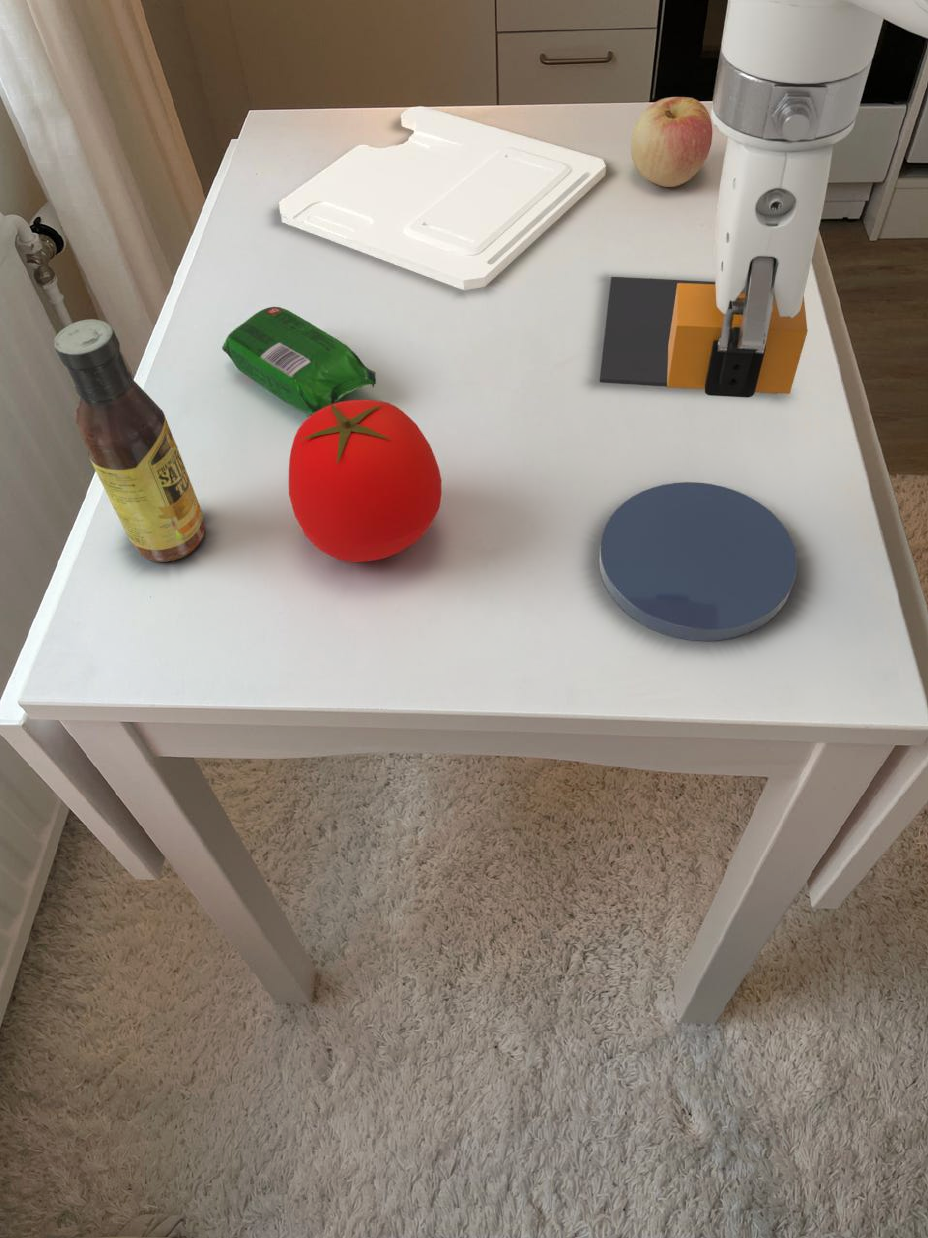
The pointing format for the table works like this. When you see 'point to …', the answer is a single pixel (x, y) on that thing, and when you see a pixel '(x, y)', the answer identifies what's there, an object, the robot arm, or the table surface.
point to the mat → (639, 330)
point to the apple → (671, 140)
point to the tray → (444, 197)
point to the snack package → (296, 360)
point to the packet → (701, 326)
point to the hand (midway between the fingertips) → (728, 365)
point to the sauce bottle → (130, 445)
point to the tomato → (363, 480)
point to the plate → (697, 561)
